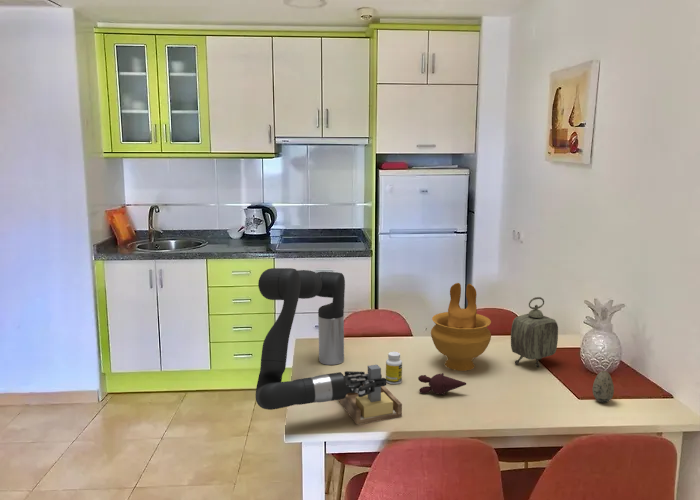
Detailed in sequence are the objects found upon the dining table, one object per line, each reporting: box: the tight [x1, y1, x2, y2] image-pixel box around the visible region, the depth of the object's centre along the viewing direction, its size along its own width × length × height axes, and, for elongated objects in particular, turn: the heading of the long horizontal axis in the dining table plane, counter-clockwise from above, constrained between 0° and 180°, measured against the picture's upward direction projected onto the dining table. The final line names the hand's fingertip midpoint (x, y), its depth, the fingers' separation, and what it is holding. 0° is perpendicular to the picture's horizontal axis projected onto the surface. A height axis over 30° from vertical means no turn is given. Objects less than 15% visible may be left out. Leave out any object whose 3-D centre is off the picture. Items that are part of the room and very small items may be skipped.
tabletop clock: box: [510, 296, 559, 368], centre depth 202 cm, size 14×9×25 cm, turn 115°
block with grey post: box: [356, 364, 393, 418], centre depth 166 cm, size 7×9×14 cm
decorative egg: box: [592, 370, 615, 404], centre depth 174 cm, size 6×6×10 cm
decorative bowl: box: [430, 282, 492, 372], centre depth 202 cm, size 21×21×30 cm
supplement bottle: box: [385, 351, 403, 385], centre depth 190 cm, size 5×5×10 cm
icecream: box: [417, 372, 467, 396], centre depth 181 cm, size 7×7×15 cm
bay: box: [338, 383, 403, 425], centre depth 171 cm, size 18×14×6 cm
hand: (383, 379), depth 167 cm, fingers closed on block with grey post, 3 cm apart
